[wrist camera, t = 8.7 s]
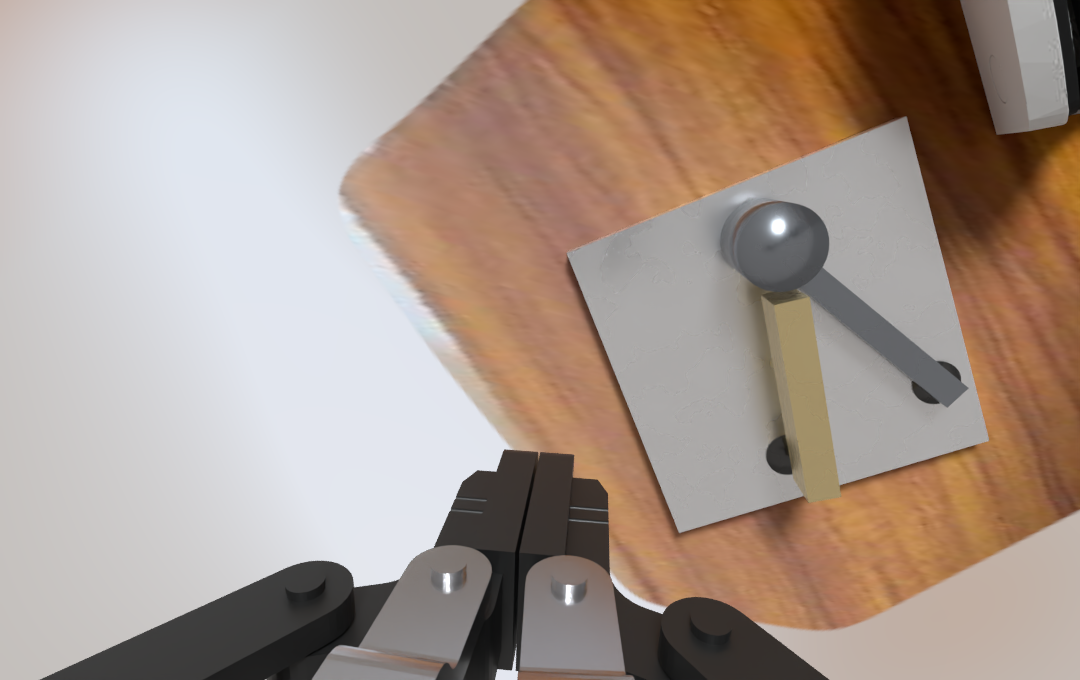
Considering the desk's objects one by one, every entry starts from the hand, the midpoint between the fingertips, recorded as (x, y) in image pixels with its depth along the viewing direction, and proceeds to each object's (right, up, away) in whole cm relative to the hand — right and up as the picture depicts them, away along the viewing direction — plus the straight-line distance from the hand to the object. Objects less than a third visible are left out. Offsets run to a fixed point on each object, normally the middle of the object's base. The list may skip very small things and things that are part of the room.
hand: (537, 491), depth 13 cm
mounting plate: (+13, +3, +21) cm, 24 cm away
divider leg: (+13, +1, +20) cm, 24 cm away
